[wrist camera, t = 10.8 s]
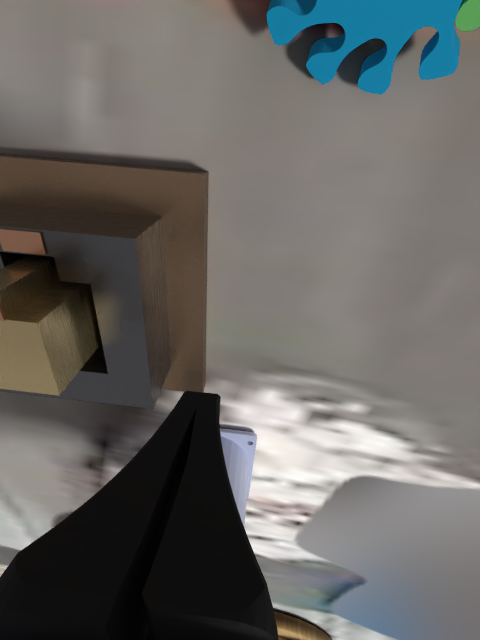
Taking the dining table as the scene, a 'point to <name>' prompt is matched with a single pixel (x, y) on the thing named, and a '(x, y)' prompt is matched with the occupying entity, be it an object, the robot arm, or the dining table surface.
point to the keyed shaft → (43, 326)
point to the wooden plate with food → (297, 629)
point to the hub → (119, 266)
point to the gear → (376, 34)
